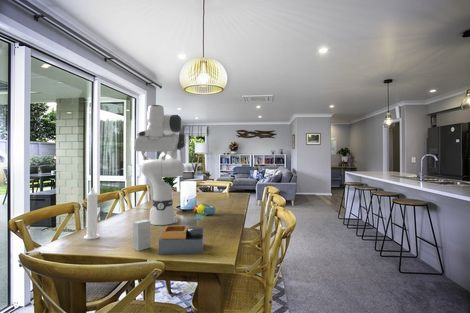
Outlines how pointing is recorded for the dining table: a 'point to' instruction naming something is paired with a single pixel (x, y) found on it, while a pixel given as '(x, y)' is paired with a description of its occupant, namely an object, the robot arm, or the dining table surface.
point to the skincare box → (141, 235)
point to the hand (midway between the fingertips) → (154, 160)
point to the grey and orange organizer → (181, 240)
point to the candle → (91, 216)
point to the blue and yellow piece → (203, 210)
